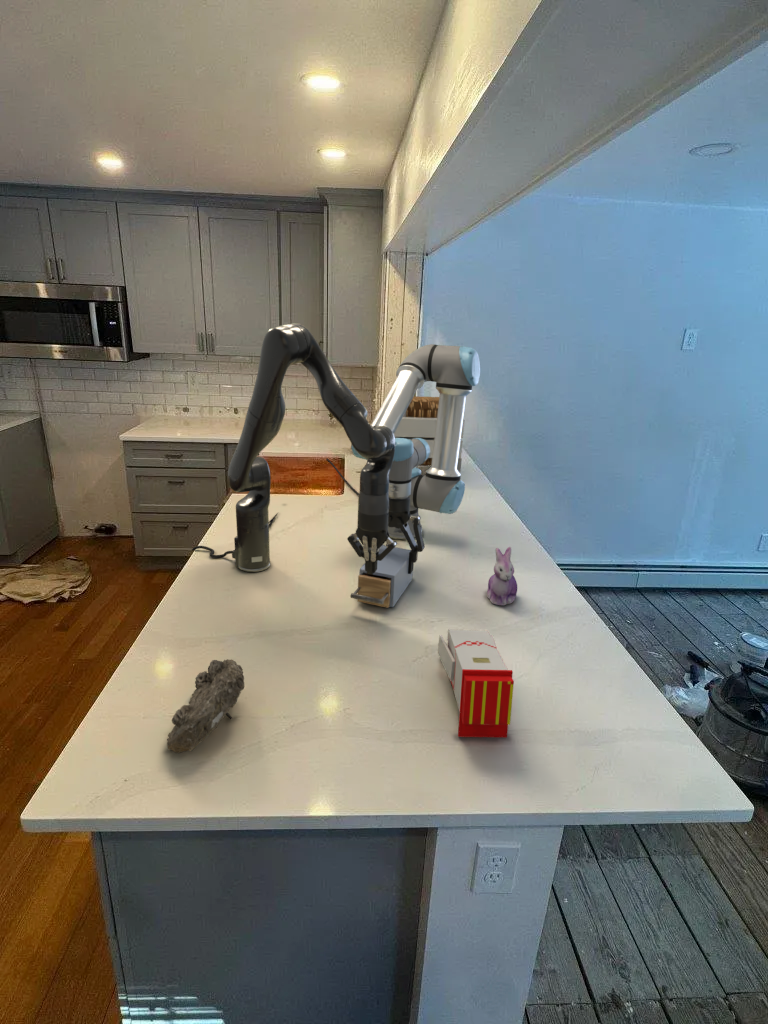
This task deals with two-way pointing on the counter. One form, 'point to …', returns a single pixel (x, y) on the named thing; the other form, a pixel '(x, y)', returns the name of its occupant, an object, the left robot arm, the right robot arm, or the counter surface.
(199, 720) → the fossil
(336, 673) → the counter surface
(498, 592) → the figurine
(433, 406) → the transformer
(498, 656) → the toy
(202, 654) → the counter surface
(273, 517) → the feather
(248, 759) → the counter surface
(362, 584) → the drawer
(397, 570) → the cabinet
